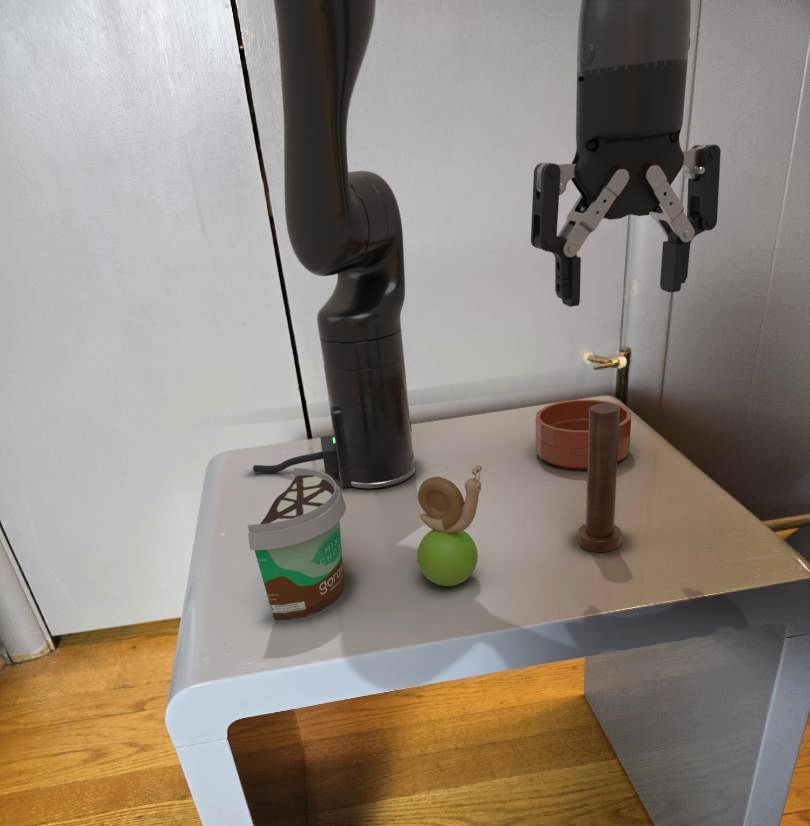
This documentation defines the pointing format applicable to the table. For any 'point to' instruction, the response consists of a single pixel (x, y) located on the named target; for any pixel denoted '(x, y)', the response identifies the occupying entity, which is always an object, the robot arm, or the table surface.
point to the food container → (301, 546)
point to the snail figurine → (448, 530)
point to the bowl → (573, 433)
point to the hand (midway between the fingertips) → (620, 297)
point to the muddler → (601, 480)
